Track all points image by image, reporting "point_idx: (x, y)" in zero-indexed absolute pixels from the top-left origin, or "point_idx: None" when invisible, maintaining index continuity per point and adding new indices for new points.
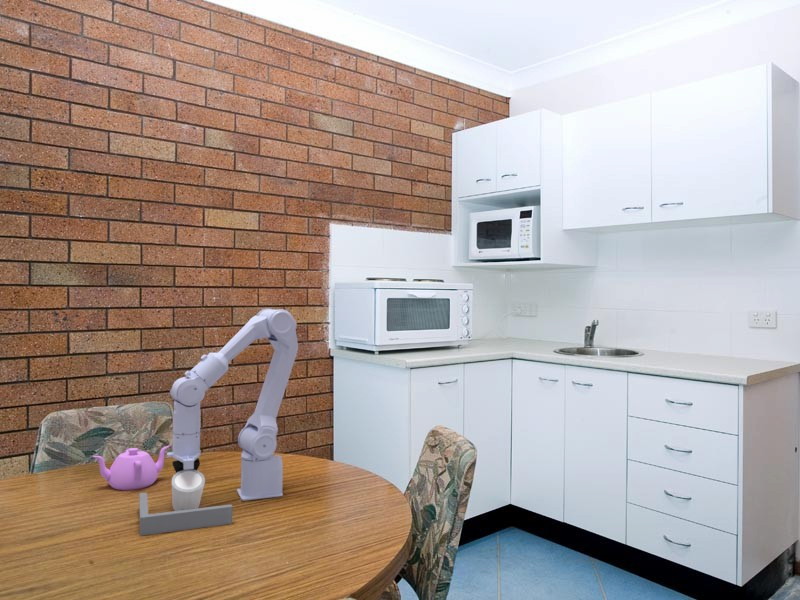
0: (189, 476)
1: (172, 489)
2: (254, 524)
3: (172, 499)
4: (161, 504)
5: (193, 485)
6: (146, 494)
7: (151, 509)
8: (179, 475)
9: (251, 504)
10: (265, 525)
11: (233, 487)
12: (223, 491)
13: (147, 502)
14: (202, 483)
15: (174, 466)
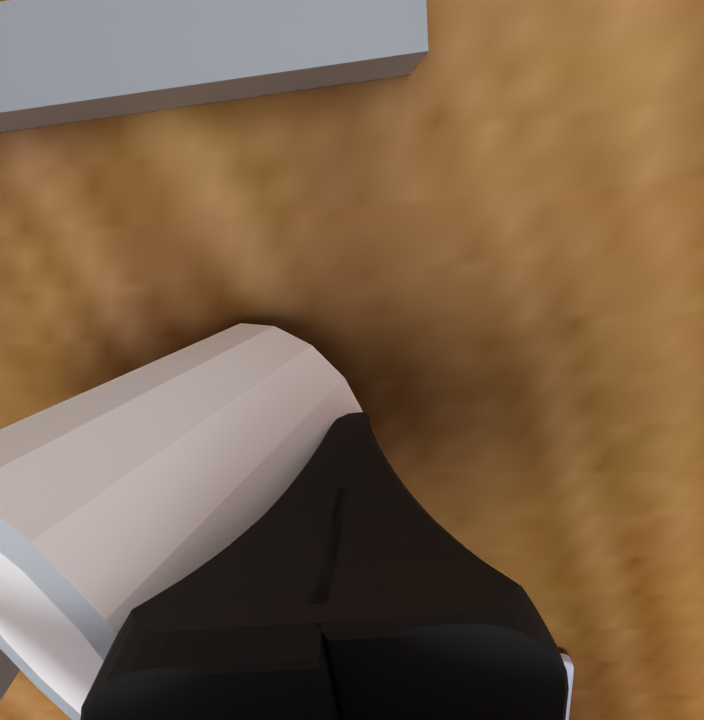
0: (87, 672)
1: (10, 425)
2: (17, 680)
3: (165, 357)
4: (481, 206)
5: (10, 633)
6: (339, 55)
7: (369, 126)
8: (56, 599)
9: None
10: (6, 710)
11: (661, 635)
12: (607, 590)
13: (15, 108)
14: (56, 699)
15: (110, 657)
